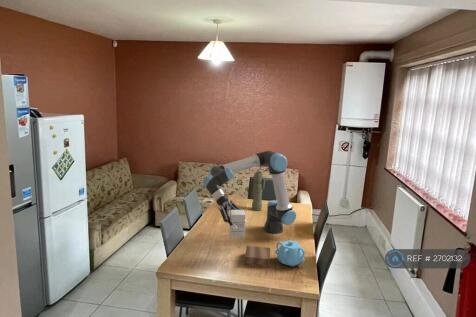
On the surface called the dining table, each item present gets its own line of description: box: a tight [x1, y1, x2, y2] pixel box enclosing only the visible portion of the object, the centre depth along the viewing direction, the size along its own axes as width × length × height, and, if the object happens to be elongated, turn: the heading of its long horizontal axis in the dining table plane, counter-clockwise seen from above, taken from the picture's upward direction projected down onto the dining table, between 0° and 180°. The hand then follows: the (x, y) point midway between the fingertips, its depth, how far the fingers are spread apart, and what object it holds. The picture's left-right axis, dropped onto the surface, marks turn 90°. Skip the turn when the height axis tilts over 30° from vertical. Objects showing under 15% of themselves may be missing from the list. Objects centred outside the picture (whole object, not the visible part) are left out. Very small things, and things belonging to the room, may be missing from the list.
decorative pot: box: [275, 240, 306, 267], centre depth 199 cm, size 16×16×14 cm
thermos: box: [251, 171, 266, 212], centre depth 290 cm, size 9×12×35 cm
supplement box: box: [229, 209, 246, 239], centre depth 198 cm, size 9×9×15 cm
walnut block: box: [243, 245, 271, 269], centre depth 199 cm, size 15×15×6 cm
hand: (240, 226), depth 197 cm, fingers closed on supplement box, 12 cm apart
